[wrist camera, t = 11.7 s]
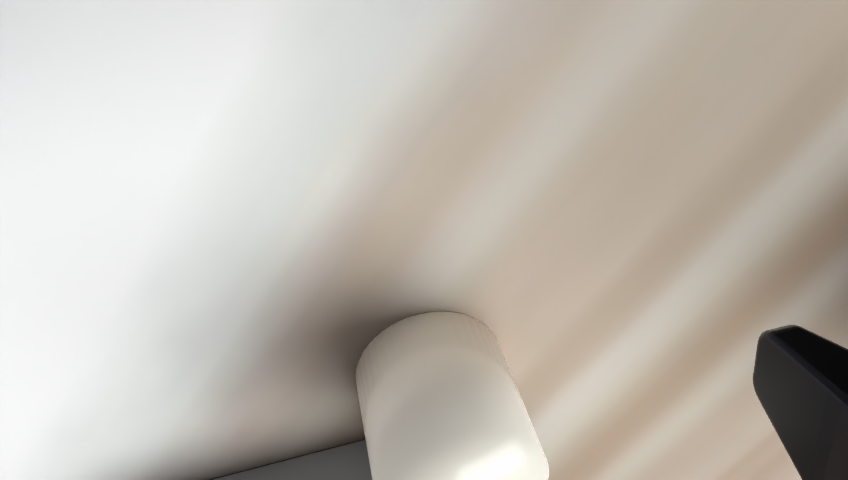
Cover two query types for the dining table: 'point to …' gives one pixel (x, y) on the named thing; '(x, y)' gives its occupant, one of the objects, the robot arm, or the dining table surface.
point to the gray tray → (316, 466)
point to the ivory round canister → (444, 404)
